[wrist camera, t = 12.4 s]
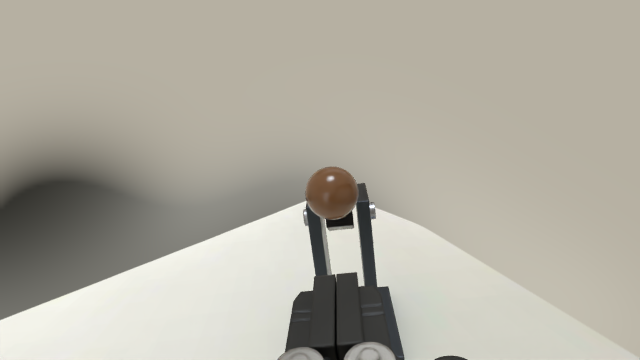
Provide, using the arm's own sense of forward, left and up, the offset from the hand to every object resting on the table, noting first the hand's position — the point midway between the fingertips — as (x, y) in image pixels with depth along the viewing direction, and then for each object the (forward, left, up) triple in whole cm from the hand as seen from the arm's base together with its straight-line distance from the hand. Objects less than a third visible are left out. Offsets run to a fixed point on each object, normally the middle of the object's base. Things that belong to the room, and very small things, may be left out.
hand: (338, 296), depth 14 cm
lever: (0, -14, -4) cm, 14 cm away
